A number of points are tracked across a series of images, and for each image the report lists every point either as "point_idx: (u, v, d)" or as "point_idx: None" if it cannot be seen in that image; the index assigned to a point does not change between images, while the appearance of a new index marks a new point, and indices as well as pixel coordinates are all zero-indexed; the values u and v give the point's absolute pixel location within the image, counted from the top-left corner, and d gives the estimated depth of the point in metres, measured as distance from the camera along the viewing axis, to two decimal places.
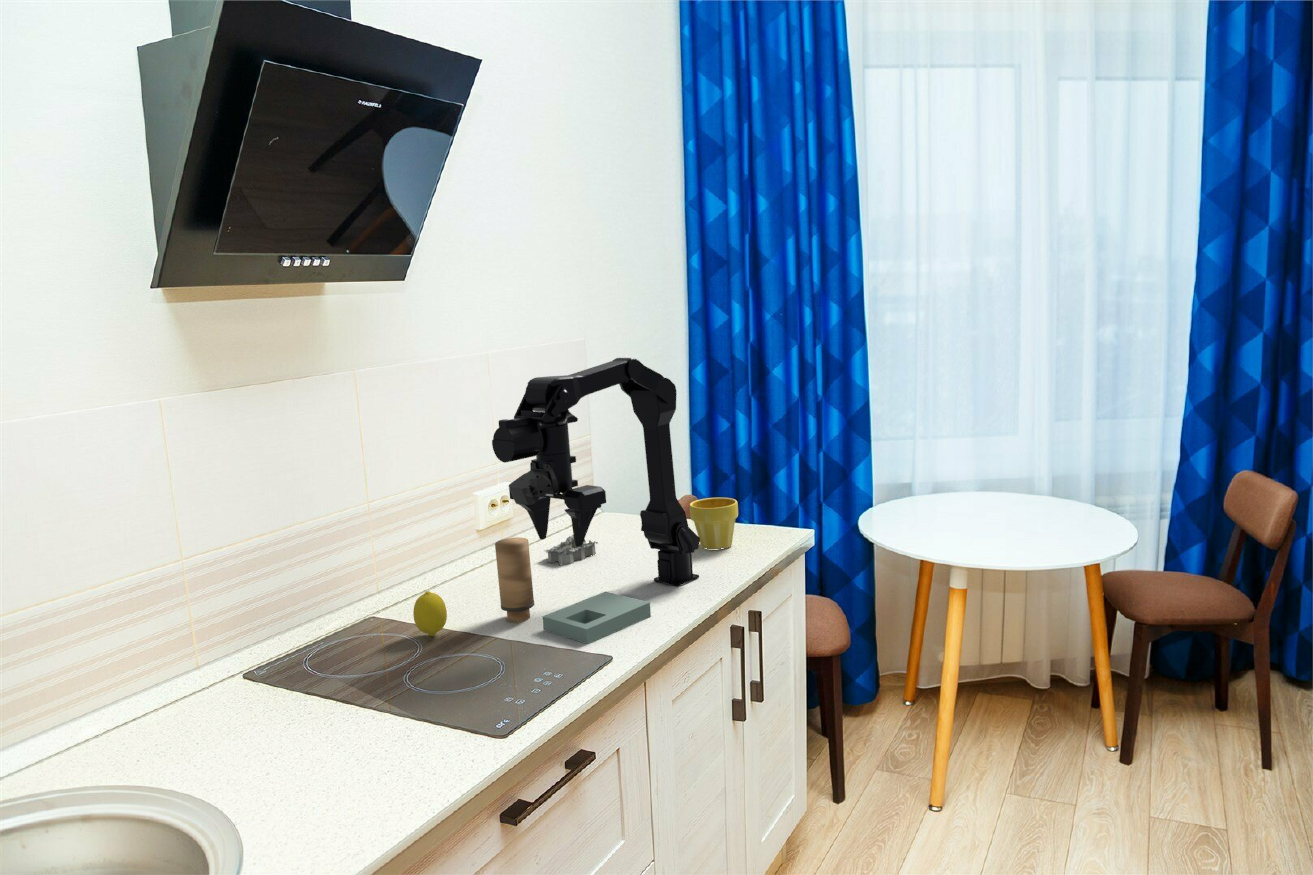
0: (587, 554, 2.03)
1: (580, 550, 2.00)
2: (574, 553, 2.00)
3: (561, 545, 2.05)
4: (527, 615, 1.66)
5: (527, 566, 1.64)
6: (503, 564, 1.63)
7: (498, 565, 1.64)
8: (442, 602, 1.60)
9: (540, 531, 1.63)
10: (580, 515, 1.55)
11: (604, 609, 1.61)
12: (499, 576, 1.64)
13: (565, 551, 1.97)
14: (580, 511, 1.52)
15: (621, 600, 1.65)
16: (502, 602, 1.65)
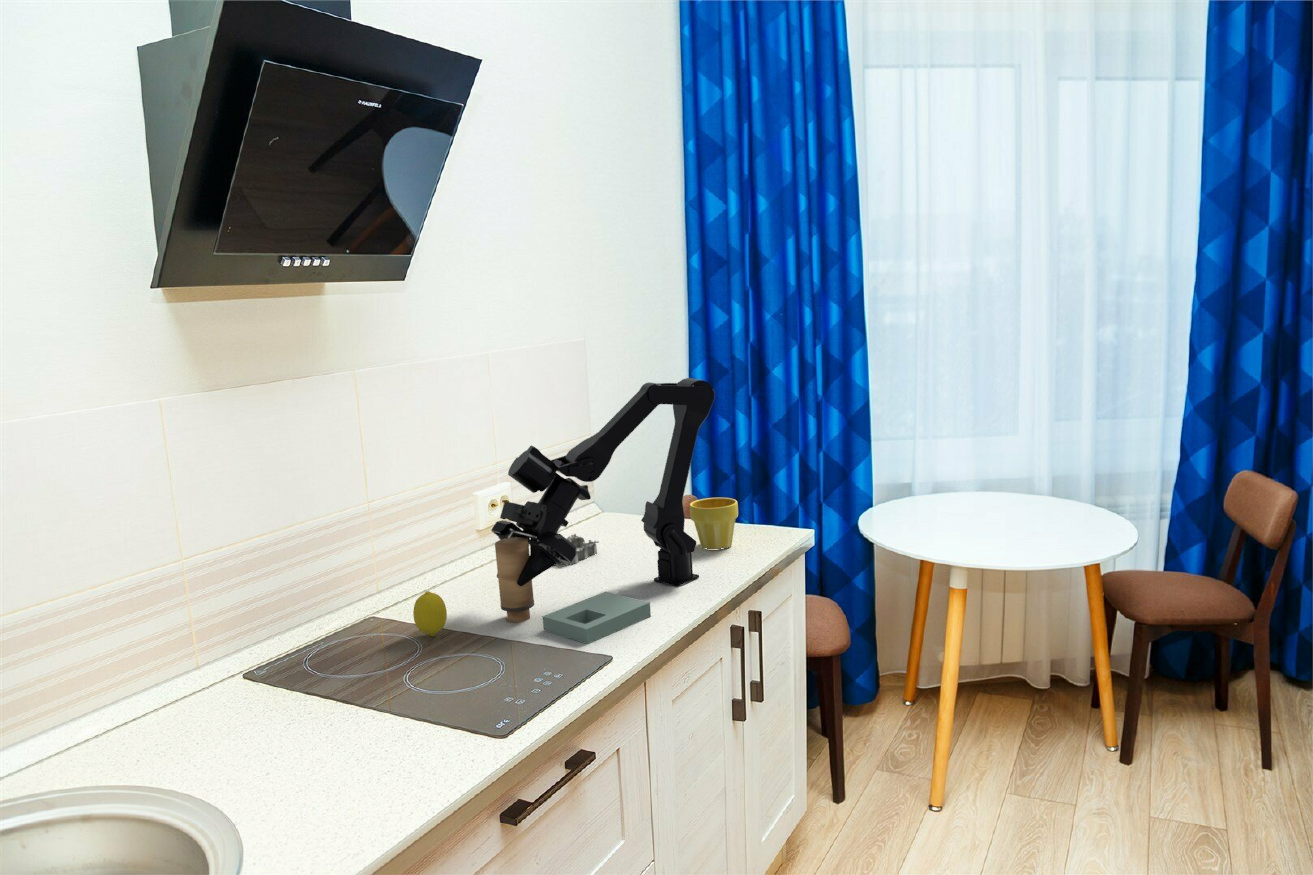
0: (589, 553, 2.04)
1: (583, 550, 2.00)
2: (578, 552, 2.00)
3: None
4: (527, 615, 1.66)
5: None
6: (503, 564, 1.63)
7: (498, 565, 1.64)
8: (442, 602, 1.60)
9: None
10: (538, 559, 1.64)
11: (604, 609, 1.61)
12: (499, 576, 1.64)
13: None
14: (543, 548, 1.62)
15: (621, 600, 1.65)
16: (502, 602, 1.65)
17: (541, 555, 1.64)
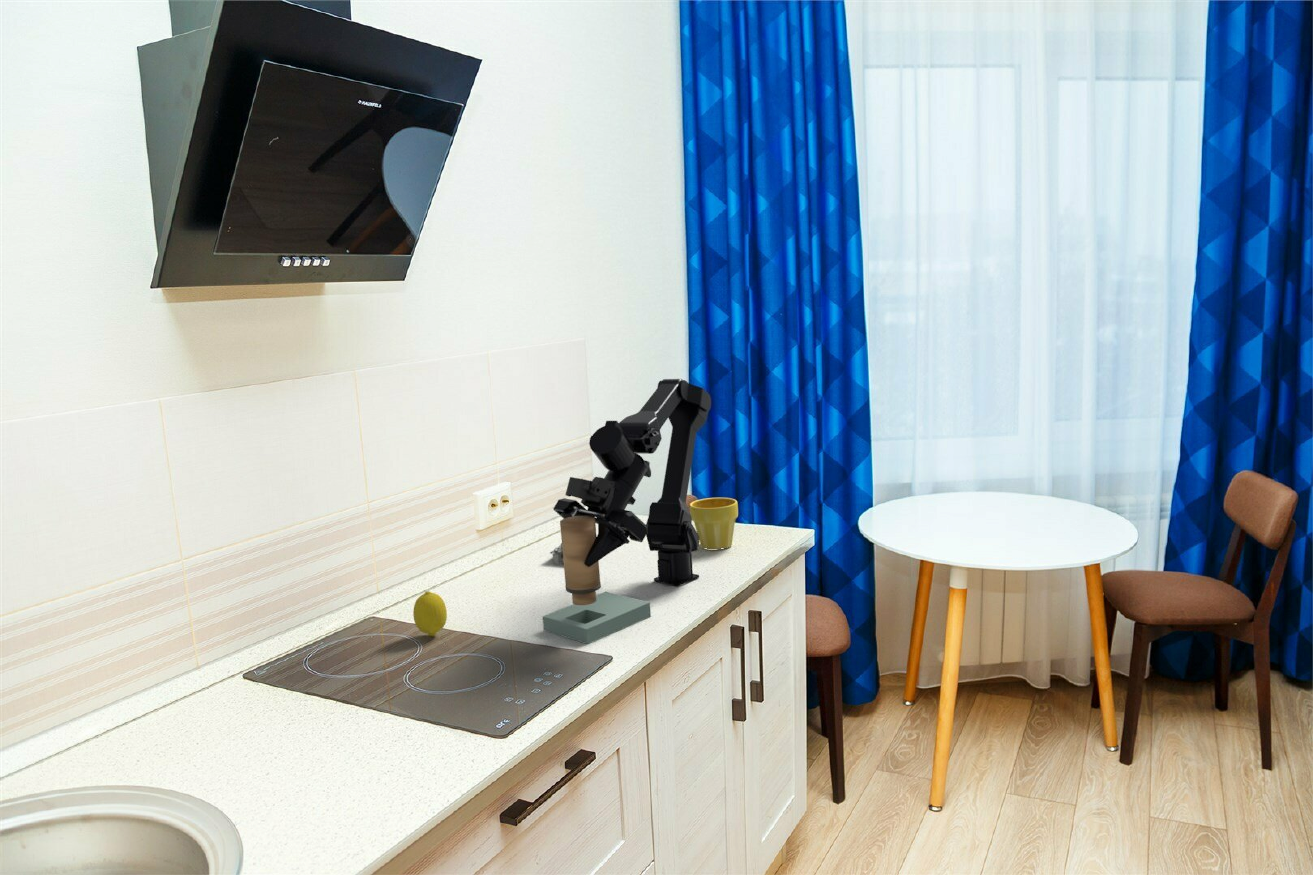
0: None
1: None
2: None
3: None
4: (594, 598, 1.57)
5: None
6: (570, 544, 1.54)
7: (564, 545, 1.55)
8: (442, 602, 1.60)
9: None
10: (606, 538, 1.55)
11: (604, 609, 1.61)
12: (565, 556, 1.55)
13: None
14: (612, 526, 1.52)
15: (621, 600, 1.65)
16: (568, 584, 1.56)
17: (609, 534, 1.55)
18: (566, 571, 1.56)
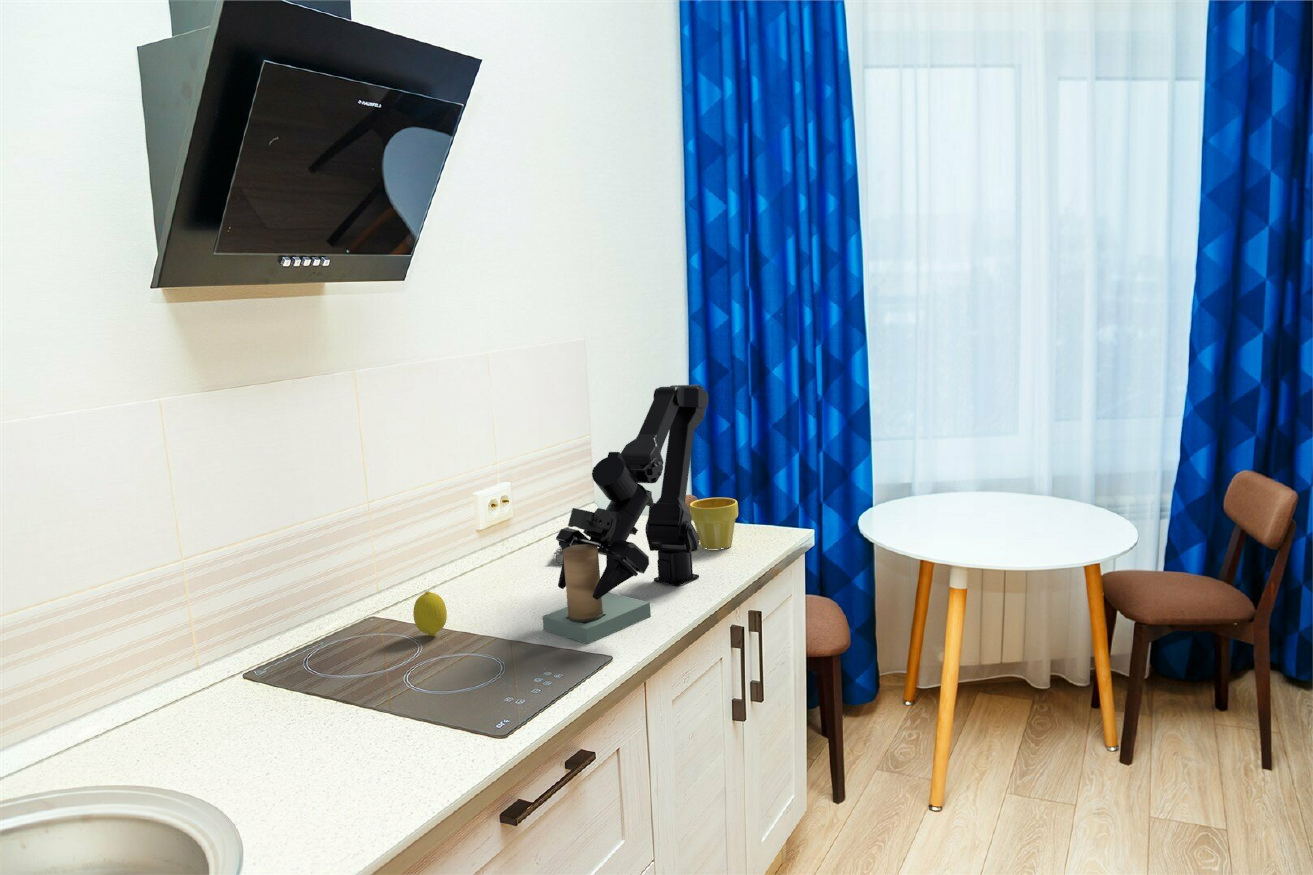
0: None
1: None
2: None
3: None
4: None
5: (597, 575, 1.56)
6: (573, 573, 1.55)
7: (566, 574, 1.56)
8: (442, 602, 1.60)
9: (563, 578, 1.60)
10: (614, 570, 1.55)
11: (604, 609, 1.61)
12: (567, 585, 1.56)
13: None
14: (621, 559, 1.52)
15: (621, 600, 1.65)
16: (570, 613, 1.57)
17: (617, 566, 1.55)
18: (569, 600, 1.56)
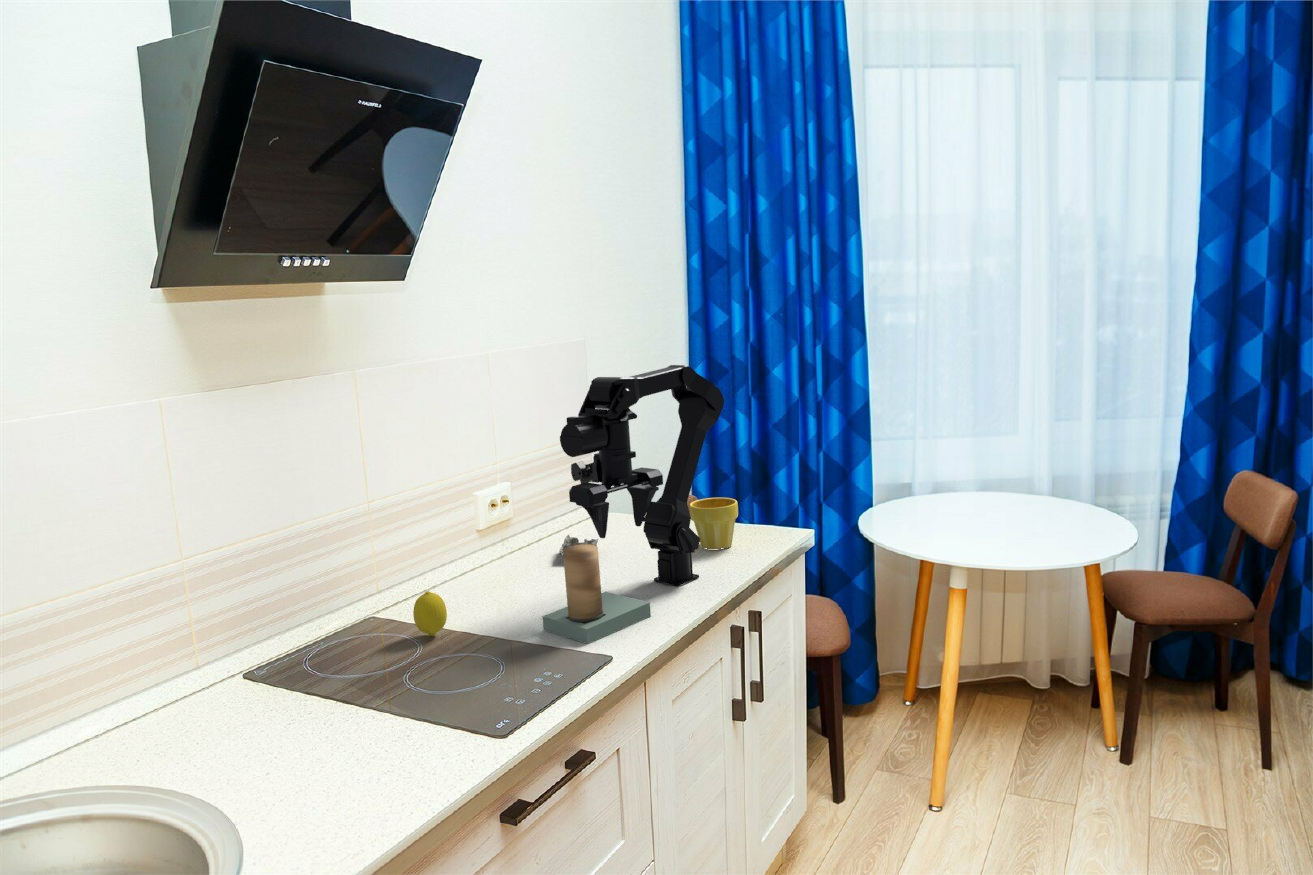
0: None
1: None
2: None
3: (563, 547, 2.03)
4: None
5: (597, 575, 1.56)
6: (573, 573, 1.55)
7: (566, 574, 1.56)
8: (442, 602, 1.60)
9: (634, 518, 1.74)
10: (595, 509, 1.66)
11: (604, 609, 1.61)
12: (567, 585, 1.56)
13: None
14: (577, 503, 1.65)
15: (621, 600, 1.65)
16: (570, 613, 1.57)
17: None
18: (569, 600, 1.56)
